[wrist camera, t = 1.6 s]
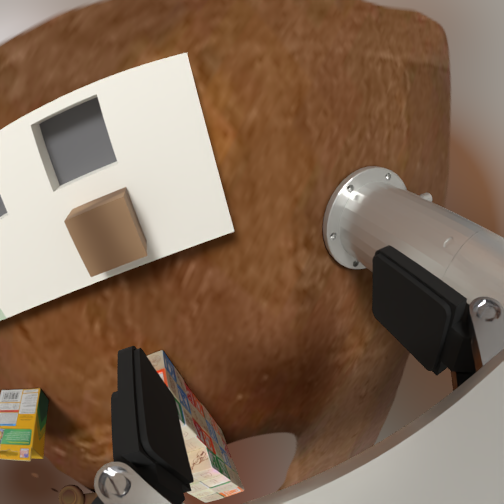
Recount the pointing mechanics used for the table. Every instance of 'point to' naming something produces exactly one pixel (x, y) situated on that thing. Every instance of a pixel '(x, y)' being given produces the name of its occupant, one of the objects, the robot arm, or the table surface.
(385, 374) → the table surface
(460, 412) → the robot arm
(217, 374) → the table surface
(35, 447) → the crayon box
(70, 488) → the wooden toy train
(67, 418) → the table surface
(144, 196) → the trap board
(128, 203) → the walnut block
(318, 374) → the table surface
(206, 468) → the stack of blocks
